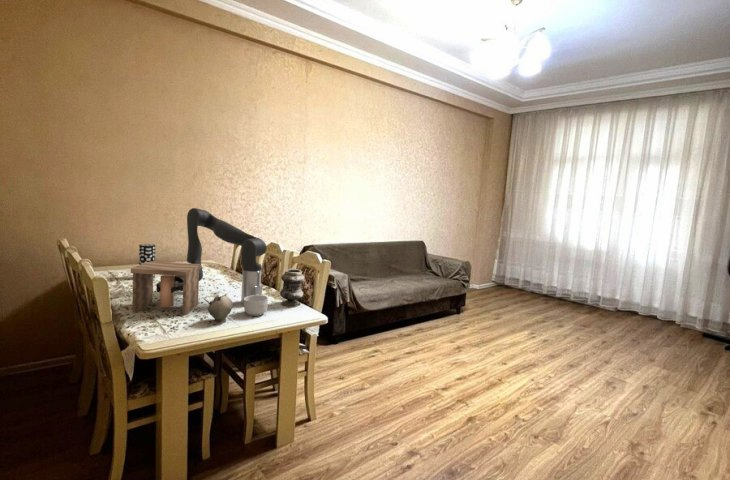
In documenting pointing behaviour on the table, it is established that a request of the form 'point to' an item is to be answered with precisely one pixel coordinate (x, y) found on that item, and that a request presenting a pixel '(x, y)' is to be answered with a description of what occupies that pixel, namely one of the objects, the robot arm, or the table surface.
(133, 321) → the table surface
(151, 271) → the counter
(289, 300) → the dark mottled vase
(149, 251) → the spotted tube
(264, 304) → the teacup
